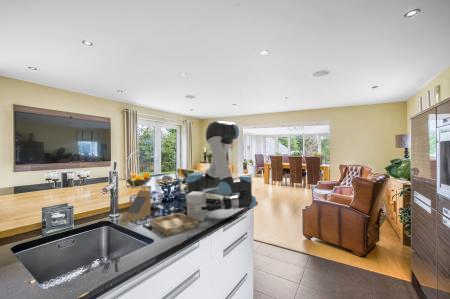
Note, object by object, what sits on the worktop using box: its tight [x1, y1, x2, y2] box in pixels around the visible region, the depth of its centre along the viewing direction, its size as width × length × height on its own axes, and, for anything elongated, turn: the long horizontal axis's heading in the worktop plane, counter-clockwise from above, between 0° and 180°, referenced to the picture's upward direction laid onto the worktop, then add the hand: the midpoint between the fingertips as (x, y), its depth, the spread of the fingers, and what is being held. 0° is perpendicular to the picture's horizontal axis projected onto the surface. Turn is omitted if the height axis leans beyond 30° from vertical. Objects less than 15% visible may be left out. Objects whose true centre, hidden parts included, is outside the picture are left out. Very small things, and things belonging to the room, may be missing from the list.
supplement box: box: [186, 191, 208, 223], centre depth 121 cm, size 9×9×15 cm
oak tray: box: [149, 212, 200, 237], centre depth 111 cm, size 18×20×3 cm
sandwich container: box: [121, 189, 152, 223], centre depth 127 cm, size 9×15×15 cm, turn 161°
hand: (193, 205), depth 120 cm, fingers open, 12 cm apart
